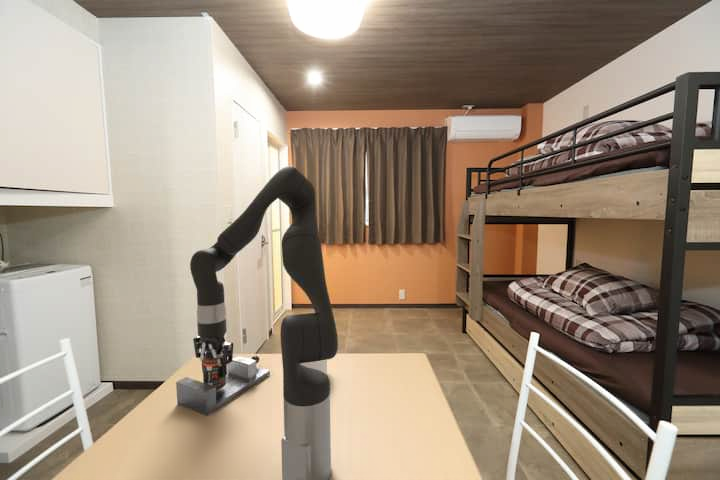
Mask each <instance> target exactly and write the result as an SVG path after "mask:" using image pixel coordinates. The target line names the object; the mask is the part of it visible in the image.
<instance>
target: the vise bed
mask: <svg viewBox="0 0 720 480" xmlns="http://www.w3.org/2000/svg"><path fill="white" fill-rule="evenodd" d="M256 372H257V375H256V376H255V377H253V378H252V379H250V380H249V379H245V378H242V377H239V376H235V375H232V374H229V373H228V372H227V375H226V384H225V386H224V387H223V388H221V389H219V390H216V387H215V386H212V385H209V384H206V383H203V382H202V381H200V380H196V379H193V378H190V377H187V376H185V377H183V378H181V379H179V380H177V381H175V384H176V385H175V386H176V403H177V405H178V406H181V407H183V408H185V409H189V410H190V411H193V412H196V413H199V414H201V415H204V416H206V417H207V416H209V415H211V414H212V413H214V412H215V411H217V410H218V409H220V408H222V407H223V406H225V405H226V404H228V403H229V402H231V401H232V400H234V399H235V398H237V397H238V396H240V395H241V394H243V393H244V392H246V391H247V390H249V389H250V388H252V387H254V386H255V385H257V384H258V383H260V382H261V381H263V380H264V379H266V378H267V377H268V376H270V375H271V371H270V369H266V368H264V367H262V368H261V367H258V366H256Z"/></svg>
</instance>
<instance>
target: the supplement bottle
mask: <svg viewBox="0 0 720 480" xmlns="http://www.w3.org/2000/svg"><path fill="white" fill-rule="evenodd" d="M221 353H222V351H221V352H219V353H217V354H218V355H219V354H221ZM220 359H221V361H222V360H223V358H222V356H221V357H220ZM202 374H203V375H202V376H203V377H202V379H203V383H206V384H209V385H212V386H215V387H216V390H219V389H221V388H223V387H224V386H225V384H226V376H225V377H223V378H219V377H218V363H217V360H216V359H214V357H213V354H212V351H210V350H206V356H205V357H204V358H203V371H202Z"/></svg>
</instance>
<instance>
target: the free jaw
mask: <svg viewBox="0 0 720 480" xmlns="http://www.w3.org/2000/svg"><path fill="white" fill-rule="evenodd" d="M259 362H260V357H259V356H258V355H253V356H252V357H251V358H248V357H244V356H241V355H237V354H233V358H232V362H230V363H229V364H227V372H228V373H229V374H232V375H235V376H239V377H242V378H245V379H249V380H250V379H252V378H253V377H255V376H256V375H257V372H256V367H257V364H258V363H259Z"/></svg>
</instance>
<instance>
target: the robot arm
mask: <svg viewBox="0 0 720 480" xmlns="http://www.w3.org/2000/svg"><path fill="white" fill-rule="evenodd" d="M277 199H279V200H280V201H281V202H282V203H283V204H285V206H286V207H288V209H289V210H290V215H291V224H290V225H289V226H288V228H287V229H286V231H285V232H284V233H283V236H282V238H281V239H282V240H281V253H282V255H281V256H282V257H281V258H282V266H283V268H284V271H286V273H287V274H288V276H289V277H290V278H291V280H293V282H295V284H297V286H298V287H299V288H300V289H301V290H302V291H303V292H304V293H305V295H306V296H307V298H308V299H309V301H310V303H311V305H312V308H313V310H314V312H311V313H300V314H291V315H289V314H288V315H286V316H284V317H283V318H282V321H281V324H280V349H281V350H280V351H281V358H282V359H281V361H282V374H283V375H282V377H283V379H282V380H283V383H282V385H283V387H282V388H283V393H282V394H283V432H284V435H283V437H282V438H281V441H280V443H281V444H280V446H281V477H282V478H281V480H330V479H331V474H332V455H331V454H332V450H331V449H332V447H331V446H332V445H331V439H332V437H331V435H332V434H331V382H330V378H329V376H328V374H327V375H326V374H325V373H323V372H322V371H319V370H316V369H312V368H308V367H305V366H303V365H301V364H300V363H307V362H314V361H321V360H327V361H328V360H331V359H333V358H335V356H336V355H337V353H338V348H339V347H338V346H339V340H338V330H337V326H336V321H335V316H334V312H333V308H332V304H331V300H330V296H329V290H328V287H327V280H326V275H325V274H326V273H325V266H324V258H323V250H322V245H321V244H322V243H321V239H320V235H319V227H318V220H317V212H316V210H317V209H316V191H315V187H314V185H313V183H312V182H311V181H310V180H309V179H308V178H307V177H306V176H305V175H304V174H303V173H302V172H301V171H300V170H299V169H297V168H296V167H295V166H293V165H288V166H284V167H282V168H281V169H279V170H278V171H277V172H276V173H275V174H273V176H272V177H271V178H270V179H269V180H268V182H267V183H265V185H264V187H263V188H262V189H261V190H260V191H259V192H258V194H256V196H255V197H254V199H253V200H252V201H251V203H250V204H249V205H248V206H247V207H246V209H245V210H244V211H243V212H242V213H241V214H240V215H239V216H238V217H237V218H236V219H235V220H234V221H233V222H232V223H231V224H230V225H228V226H227V227H226V228H225V229H224V230H223V231H222V232H221V233H220V234H219V235H218V237H217V240H216V242H215V243H214V244H213V245H211V246H210V247H209V248H205V249H204V248H203V249H201V250H200V249H199V250H198V251H195V252H194V253H193V254H192V256H191V259H190V264H189V265H190V266H189V268H190V272H191V273H190V274H191V276H192V280H193V283H194V286H195V288H196V299H197V300H196V301H197V302H196V303H197V308H196V321H197V322H196V323H197V324H196V325H197V336H196V337H193V341H192V342H193V346H194V352H195V353H194V354H195V357H196V359H199V360H200V362H201V370H202V372H203V358H204V357H205V356H206V350H210V351H212V354H213V357H214V359H216V360H217V363H218V377H219V378H223V377H225V376H226V375H227V364H229V363H230V362H232V358H233V356H234V342H232V341H231V342H227V341H226V338H225V334H227V331H228V330H227V329H228V328H227V327H228V326H227V311H226V310H227V309H226V304H225V287H224V284H223V283H222V282H221V281H220V280H218V277H217V272H220V271H222V270H223V269H224V268H226V266H227V265H229V264H230V263H231V261H232V260H233V259H234V258H235V257H236V256H237V254H238V253H239V252H241V251H242V250H243V249H245V247H246V246H247V245H249V244H251V242H252V241H253V240H254V239H255V238H256V237H257V235H258V234H259V232H260V229H261V226H262V225H263V224H262V223H263V220H264V217H265V214H266V212H267V210H268V209H269V207H270V206H271V205H272V203H274V202H275V201H276V200H277ZM219 352H221V354H219V355H218V354H217V353H219ZM221 356H222V358H223V360H222V361H221V359H220V357H221Z"/></svg>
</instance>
